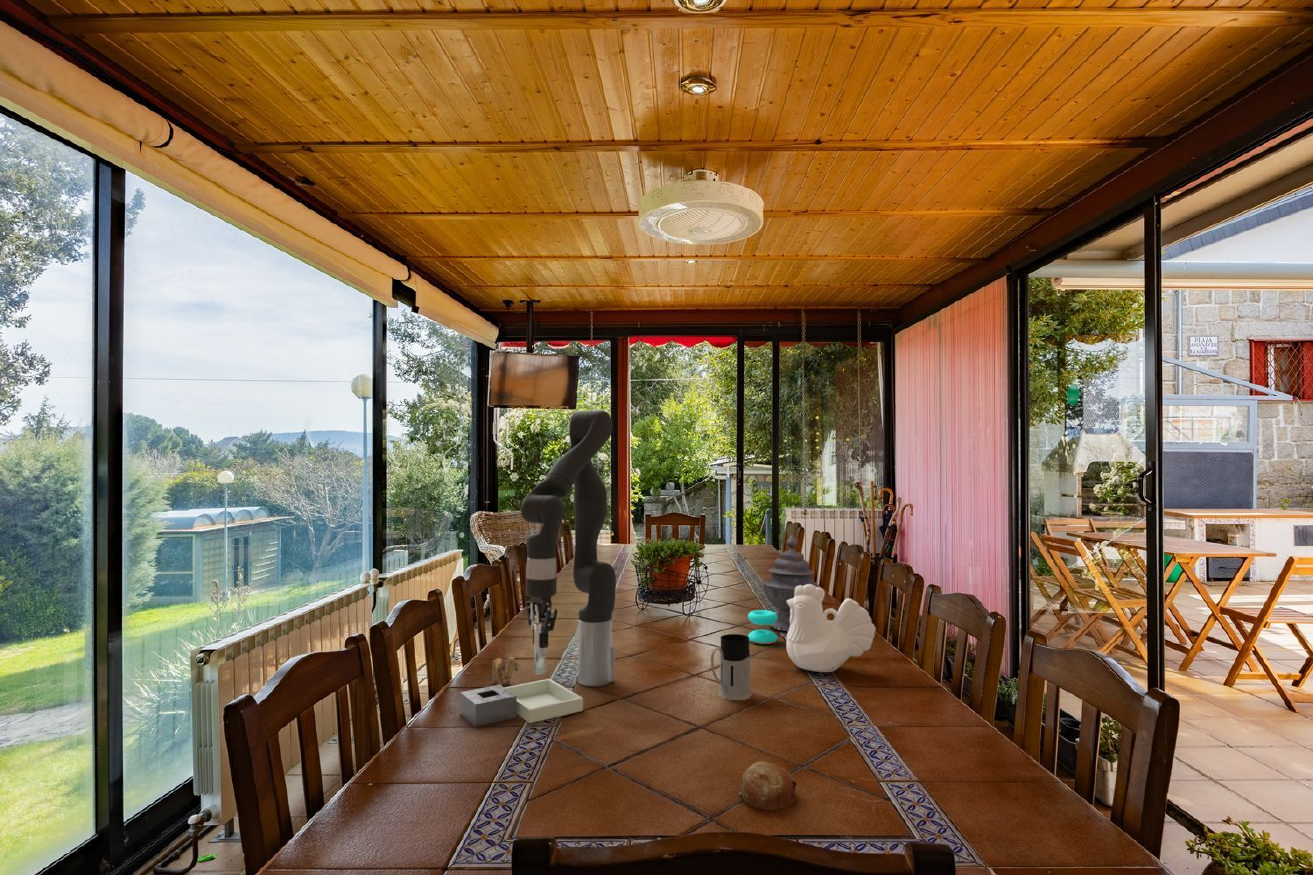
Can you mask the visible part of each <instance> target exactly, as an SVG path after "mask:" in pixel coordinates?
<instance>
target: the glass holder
mask: <svg viewBox="0 0 1313 875" xmlns="http://www.w3.org/2000/svg"><path fill="white" fill-rule="evenodd" d="M717 651H719V653H720V656H719V678H718V676H717V674H716V670H715V667H714V666H715V665H714V662H715V661H714V660H715V659H714V656H715V653H716V652H717ZM710 667H711V672H712V675H713V677H714V679H715V680H716V681H717V683H719V692H718V693H719V695H718V697H719V696H721V697H723V698H726V699H730V700H742V699H747V698H749V697H750V696H752V697H753V694H752V693H751V651H750V641H749V637H748V635H744V634H738V633H729V634H728V633H727V634H724V635H721V636H720V647H715V648H714V649H713V650H712V652H711V655H710ZM730 700H729V701H730Z"/></svg>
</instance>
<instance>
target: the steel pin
mask: <svg viewBox="0 0 1313 875" xmlns="http://www.w3.org/2000/svg"><path fill="white" fill-rule="evenodd" d="M543 619H545V618H541V620H543ZM539 633H540V632H539V624H538V623H537V618H536V615H535V620H534V644H533V648H534V649H533V674H534V675H539V676H541V675H545V674H546V673H547V648H540V647H539Z"/></svg>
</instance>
